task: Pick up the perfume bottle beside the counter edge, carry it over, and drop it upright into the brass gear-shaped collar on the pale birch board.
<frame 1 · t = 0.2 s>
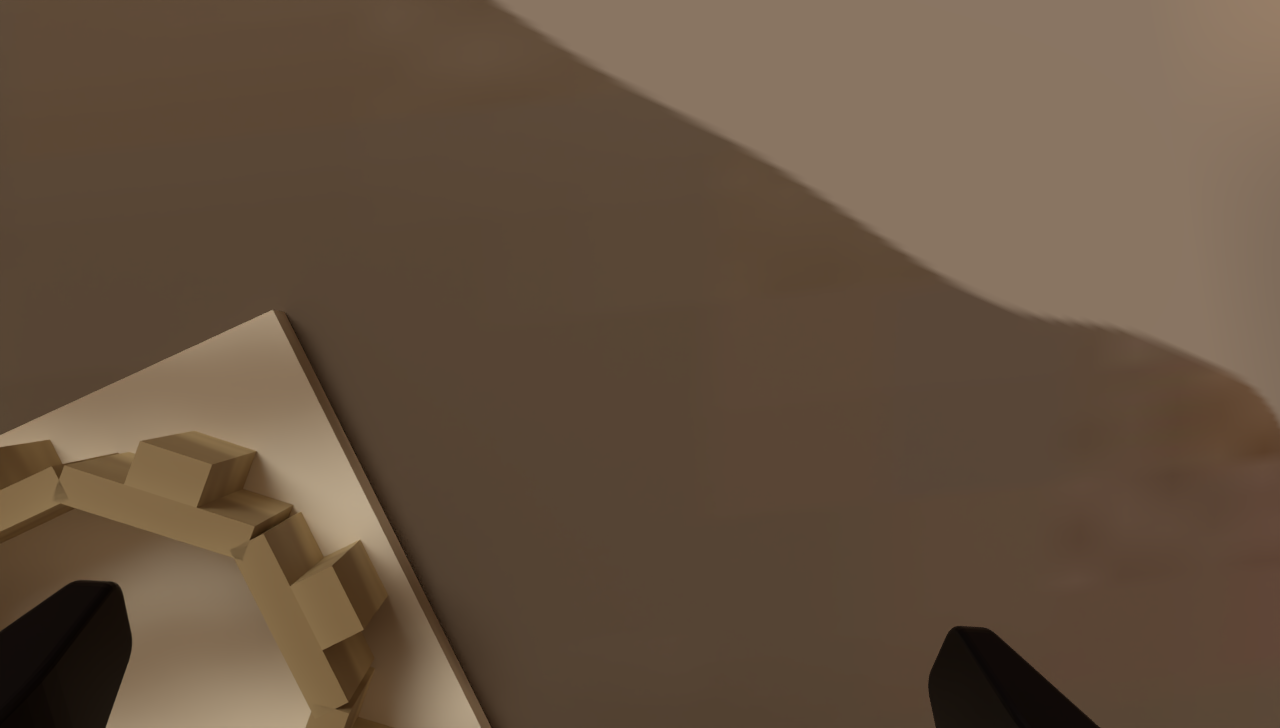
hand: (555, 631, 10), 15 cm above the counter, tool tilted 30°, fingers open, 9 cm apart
gear board: (155, 670, 24), on the counter
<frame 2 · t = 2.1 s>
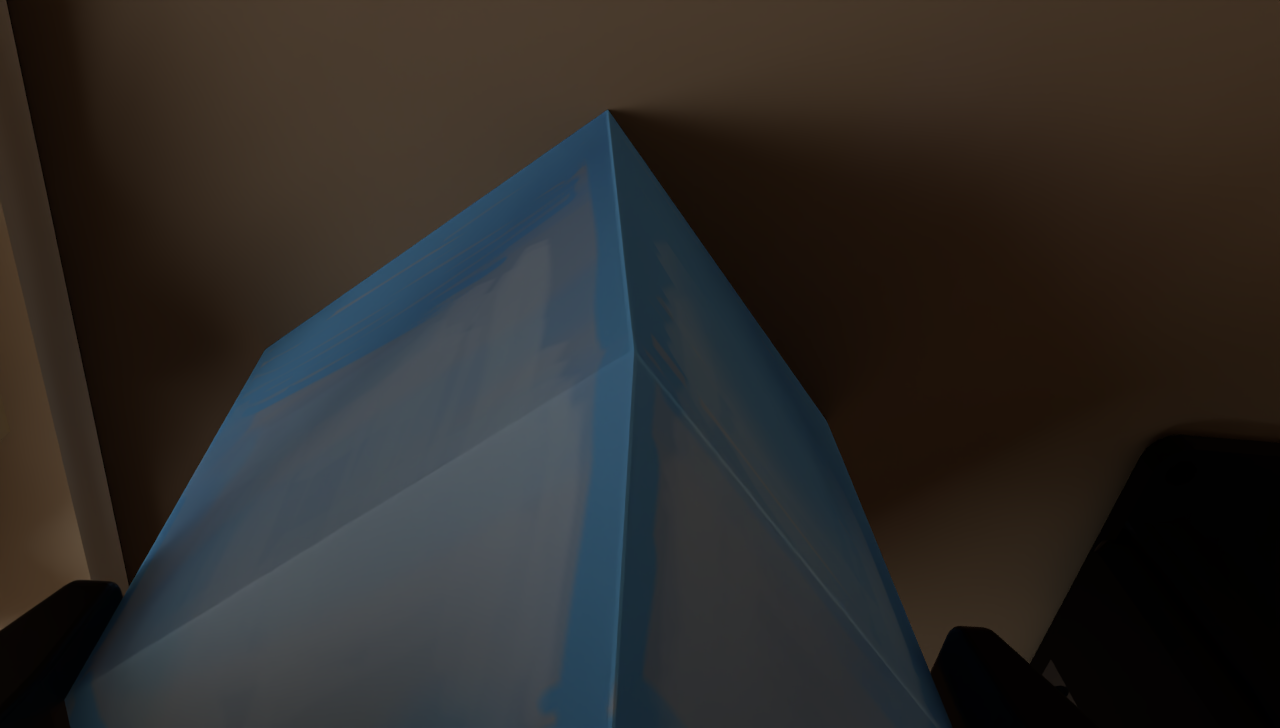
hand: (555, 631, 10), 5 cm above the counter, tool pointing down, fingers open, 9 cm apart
perfume bottle: (559, 379, 14), on the counter, touching gripper
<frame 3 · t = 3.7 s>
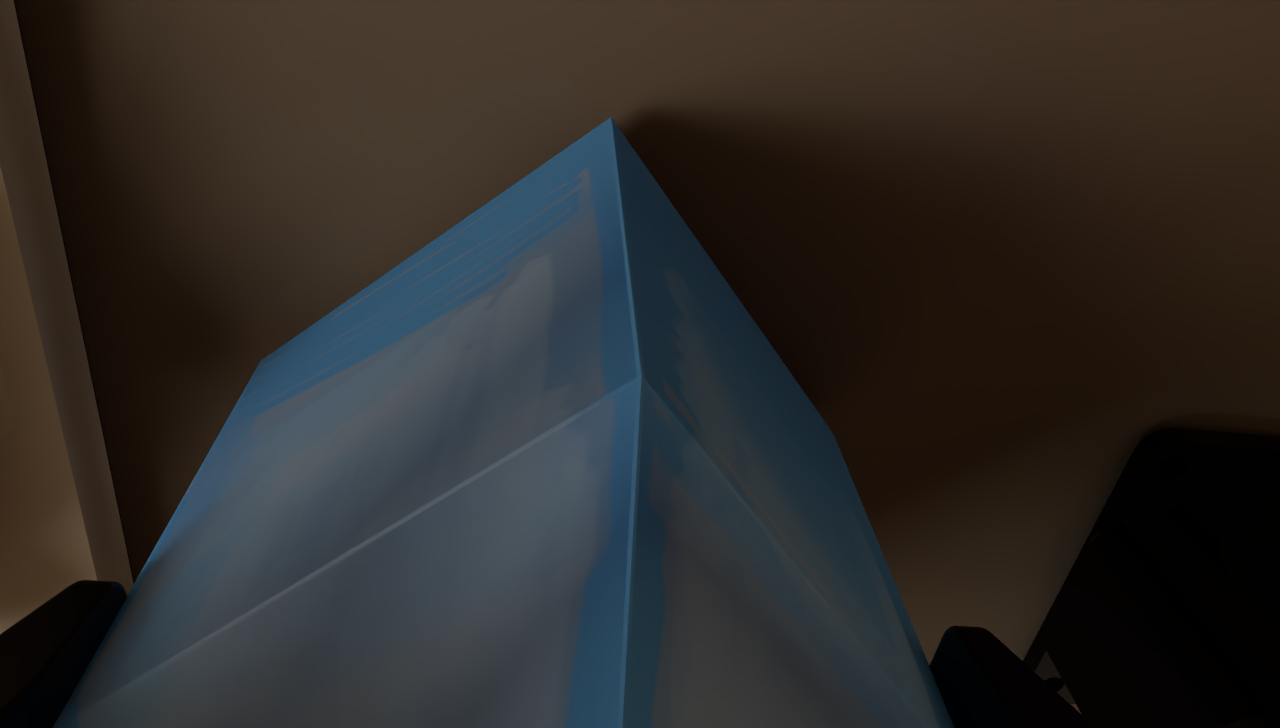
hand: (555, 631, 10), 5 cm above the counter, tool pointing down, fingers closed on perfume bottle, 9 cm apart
perfume bottle: (560, 391, 14), on the counter, touching gripper
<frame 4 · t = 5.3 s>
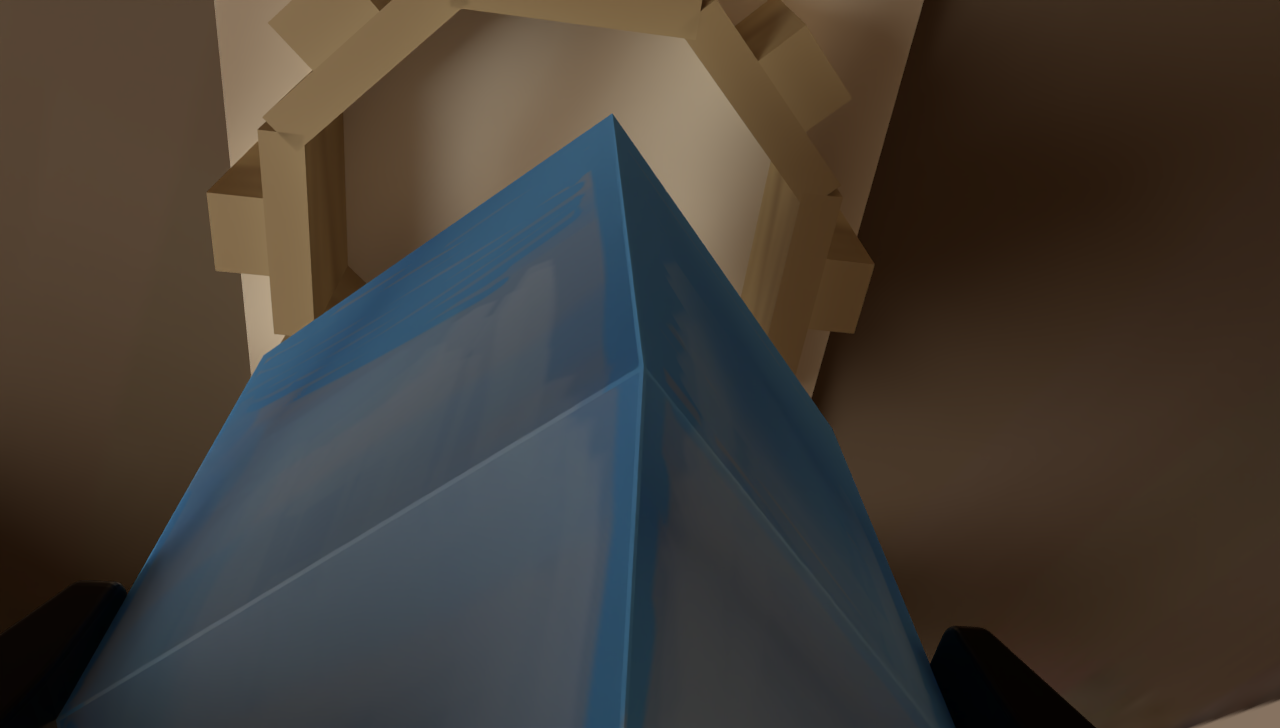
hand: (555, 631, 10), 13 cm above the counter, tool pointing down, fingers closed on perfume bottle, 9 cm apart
perfume bottle: (561, 386, 14), point 8 cm above the counter, touching gripper
gear board: (556, 194, 21), on the counter
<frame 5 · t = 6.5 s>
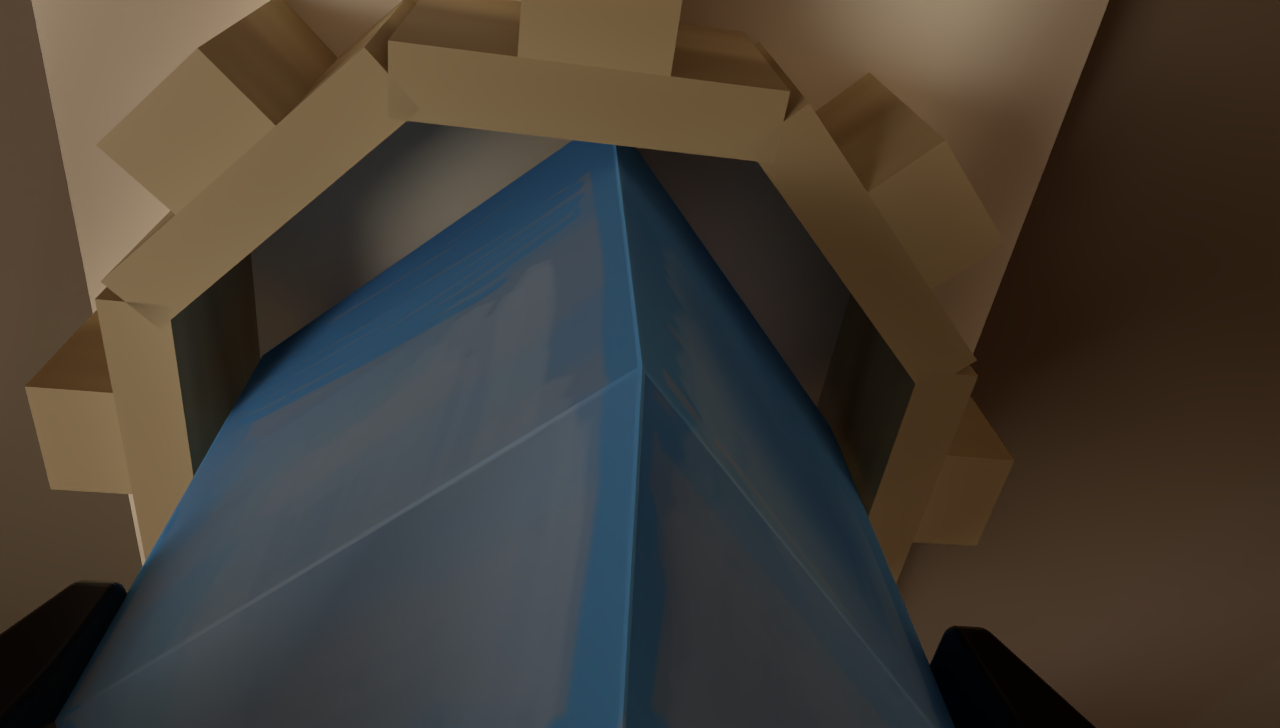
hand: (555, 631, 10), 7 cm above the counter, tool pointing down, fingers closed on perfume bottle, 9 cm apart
perfume bottle: (561, 386, 14), point 2 cm above the counter, touching gripper
gear board: (553, 328, 16), on the counter
when the fingers open (6 cm above the counter, at t = 7.6 s): perfume bottle stays where it is, resting on gear board.
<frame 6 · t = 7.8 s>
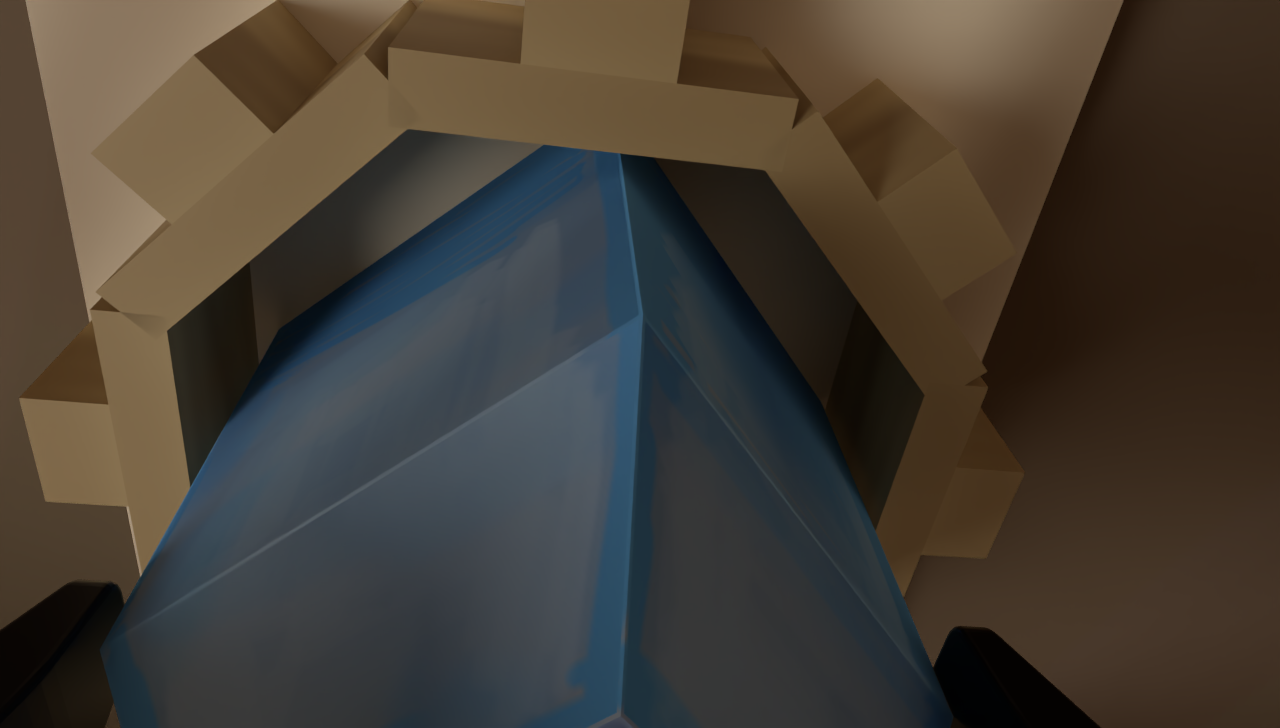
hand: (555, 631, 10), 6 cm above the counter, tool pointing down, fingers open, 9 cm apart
perfume bottle: (563, 360, 15), point 1 cm above the counter, touching gear board, gripper
gear board: (556, 336, 15), on the counter
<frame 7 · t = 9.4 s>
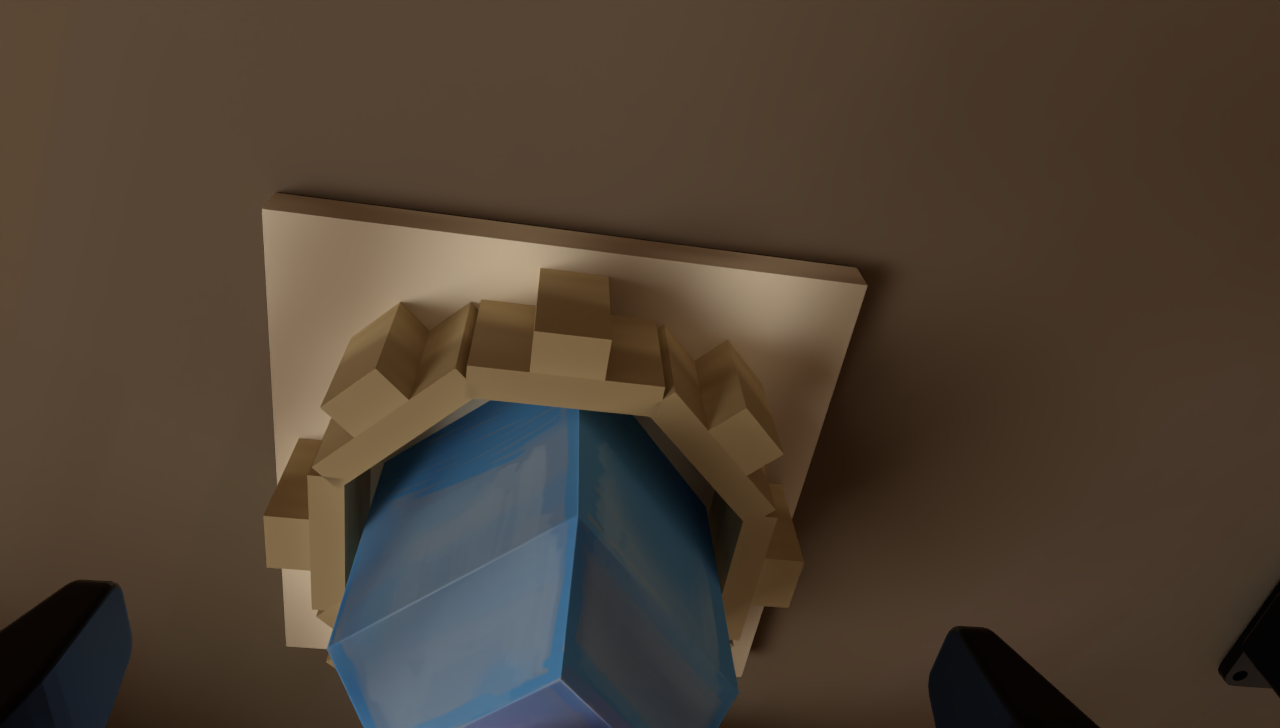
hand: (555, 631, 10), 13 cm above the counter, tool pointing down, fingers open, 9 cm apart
perfume bottle: (550, 480, 25), point 1 cm above the counter, touching gear board
gear board: (546, 462, 25), on the counter
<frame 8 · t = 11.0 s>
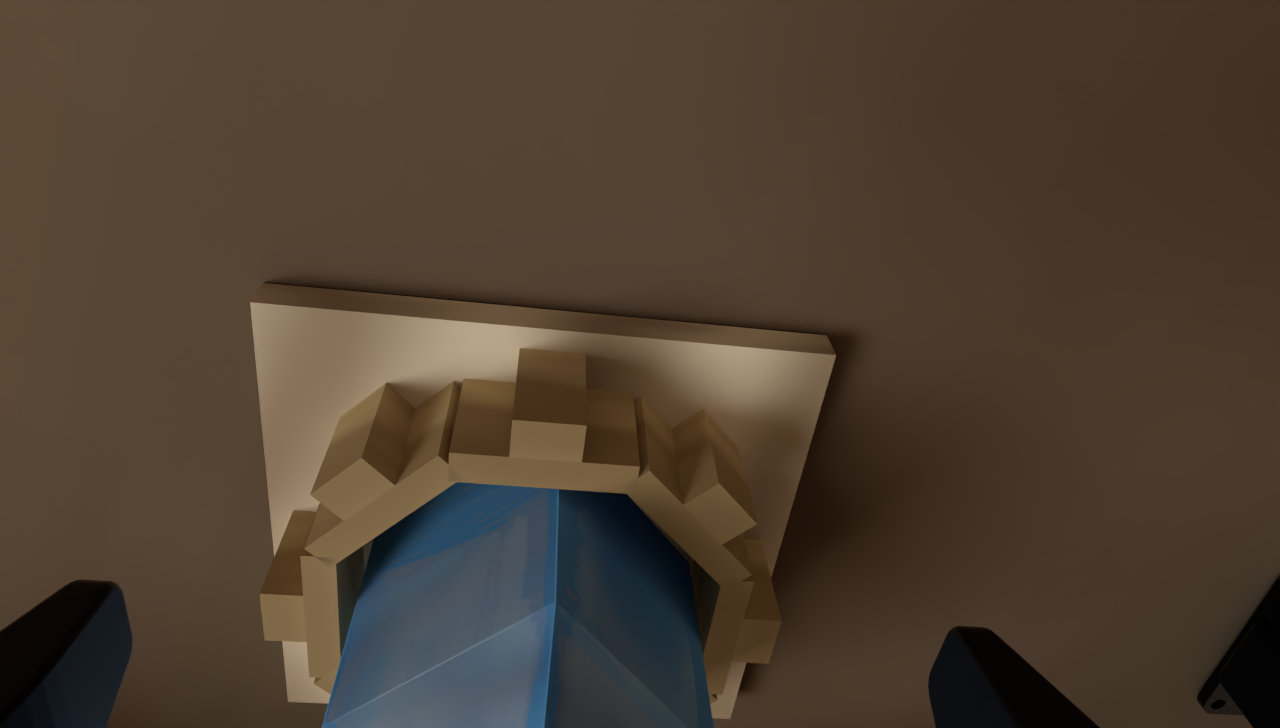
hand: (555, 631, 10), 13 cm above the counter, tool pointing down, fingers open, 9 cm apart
perfume bottle: (537, 542, 25), point 1 cm above the counter, touching gear board
gear board: (533, 523, 26), on the counter
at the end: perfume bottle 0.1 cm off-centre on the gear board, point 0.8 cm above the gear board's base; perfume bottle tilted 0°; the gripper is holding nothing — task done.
